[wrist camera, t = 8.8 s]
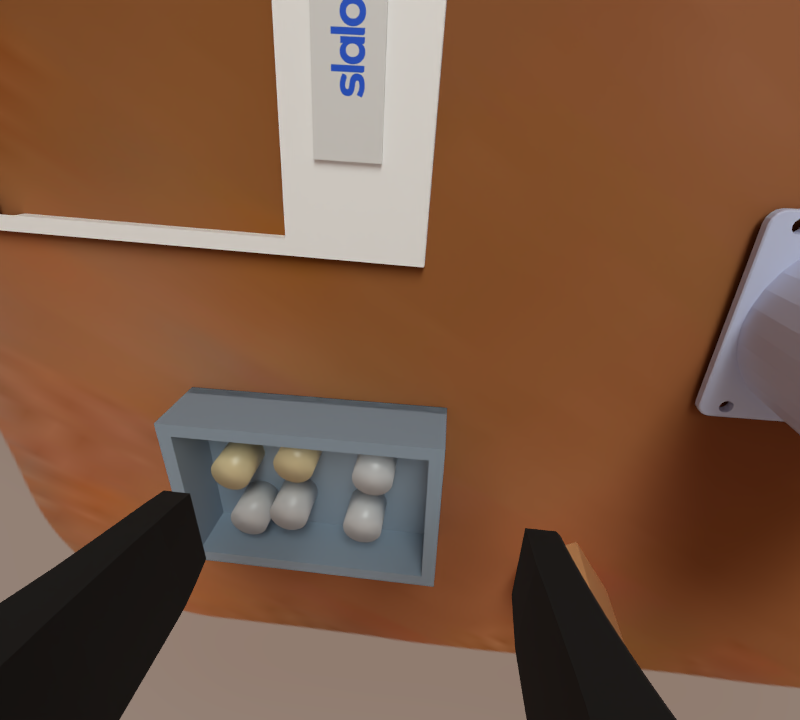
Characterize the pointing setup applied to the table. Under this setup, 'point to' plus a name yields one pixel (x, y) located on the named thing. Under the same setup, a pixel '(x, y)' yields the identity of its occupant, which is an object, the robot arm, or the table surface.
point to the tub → (310, 481)
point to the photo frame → (333, 138)
